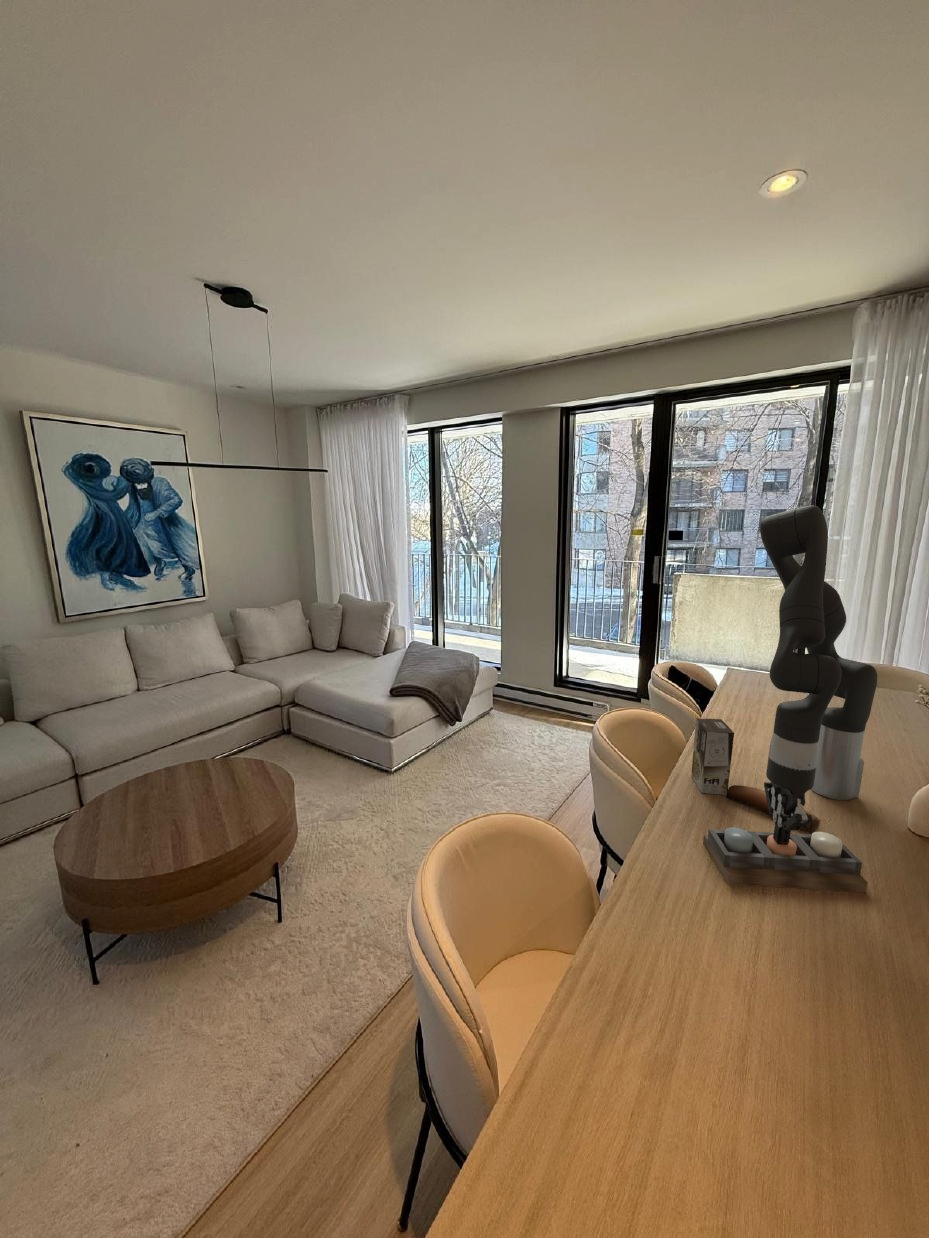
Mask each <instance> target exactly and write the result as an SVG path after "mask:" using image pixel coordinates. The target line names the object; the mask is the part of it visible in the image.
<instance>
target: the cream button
mask: <svg viewBox="0 0 929 1238" xmlns="http://www.w3.org/2000/svg"><path fill="white" fill-rule="evenodd" d="M811 833H812V834H811V835H812V836H811V843H810V848H811V849H812V850H813V851H814V853H815V854H816V855H817V856H818V857H831V858H840V857H841V851H842V845H843V844H844V843H843V842H842V840H841V839H840V838H838V836H836V835H833V834H830V833H829V832H824V831H814V832H811ZM835 836H836V837H835Z"/></svg>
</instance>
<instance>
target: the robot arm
mask: <svg viewBox="0 0 929 1238" xmlns="http://www.w3.org/2000/svg"><path fill="white" fill-rule="evenodd" d="M828 531H829V529H828V525H827V520H826V517H825V514H824V513H823V510H822V509H821V508H820V507H819V506H818V505H811V504H810V505H806V506H802V507H797V508H793V509H790V510H786V511H782V512H779V513H775V514H771V515H768V516H766V517H764V518H763V519H762V520H761V521H760V525H759V533H760V534H759V535H760V538H761V542H762V544H763V547H764V549H765V551H766V554H767V555H768V558H769V559H770V561H771V564H772V566H773V567H774V569H775V571H776V574H777V575H778V578H779V579H780V583H781V584H782V586H783V589H784V592H783V594H782V596H781V598H780V600H779V601H780V602H779V609H778V611H779V612H778V613H779V614H778V615H779V616H778V617H779V636H778V643H777V647H776V648H777V649H776V650H775V654H774V656H773V659H772V662H771V665H770V668H769V679H770V681H771V683H772V684H773V686H774V687H775V688H776V689H777V690H779V691H784V692H792V693H801V694H808V695H807V696H805V697H804V698H802V699H798V700H797V699H796V700H790V701H789V700H788V701H783V702H781V703H779V704H778V705H777V706H776V709H775V714H774V715H775V718H774V724H773V731H772V736H771V739H770V744H769V749H768V750H769V751H768V756H767V766H766V771H765V774H766V778H767V779H768V780H769V781H765V782H764V783H763V787H764V791H765V793H766V798H767V803H768V808H769V813H770V814H769V813H768V814H769V815H771V814H773V815H772V821H773V822H774V829H773V833H774V834H773V839H774V840H775V841H776V843H777V844H781V845H788V844H789V839H790V833H791V831H797V832H800V831H801V830H802V829H803V827H805V826H806V825H807V824H809V823H810V822H811V821H812V816H811V815H810V814H806V813H805V809H804V808H805V807H804V806H805V805H806V793H807V792H809V791H810V790H811V791H812V792H814V793H816V794H818V795H820V796H822V797H825V798H829V799H831V800H837V801H850V800H851V801H852V799H854V798H856V799H857V798H858V799H859V797H860V792H861V785H862V778H863V774H864V766H865V761H864V759H862V758H861V757H862V750H863V745H864V739H865V731H866V727H867V723H868V721H869V719H870V715H871V711H872V707H873V702H874V698H875V694H876V690H877V685H878V673H877V670H876V668H875V667H874V666H873V665H871V664H868V663H865V662H862V661H861V662H860V661H857V660H852V659H849V658H843V657H841V656H840V655H839V654H838V653H837V650H836V647H835V643H836V640H837V639H838V637H840V635H841V634H842V632H843V630H844V629H845V627H846V624H847V614H846V610H845V607H844V605H843V602H842V598H841V596H840V594H839V593H838V591H837V589H836V588H835V587H833V586H832V585H831V584H829V583H828V582H827V581H825V578H826V577H825V576H826V571H827V559H828V558H827V557H828V546H829V545H828V543H829V532H828ZM802 554H805V557H804V560H803V562H802V564H799V563H798V561H797V560H796V559H795V558H794V556H797V555H802ZM799 649H800V650H801V649H806V650H807V653H801V652H795V651H796V650H799ZM833 697H837V698H840V699H844V701H843V702H844V703H843V705H842V707H839V706H837V707H836V706H835V707H833V706H832V707H830V706H829V704H830V703H831V701H832V699H833ZM791 834H792V833H791Z"/></svg>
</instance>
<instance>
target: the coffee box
mask: <svg viewBox="0 0 929 1238" xmlns="http://www.w3.org/2000/svg"><path fill="white" fill-rule="evenodd" d="M694 726H695V729H694V737H693V738H694V739H693V752H692V764H691V773H690V775H691V777H692V780H693V781H694V783H695V784H696V786H697V788H698V789H699V791H700V792H701V793H702V794H710V795H711V794H714V795H722V796H723V795H725V796H726V794H727V790H728V789H729V783H730V774H731V766H732V755H733V750H734V749H733V747H734V738H735V734H736V733H735V732H734V731H733V730H732V729H731V728H730V727H729V725H728V724H727V723H725V721H723V719H721V718H698V717H697V718H695V725H694Z"/></svg>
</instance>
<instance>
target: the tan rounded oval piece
mask: <svg viewBox="0 0 929 1238" xmlns="http://www.w3.org/2000/svg"><path fill="white" fill-rule="evenodd" d="M767 847H768V849H769V850H770V851H771V852H772V854H775V855H794V856H796V849H797V845H796V844H795V842H793V841H792V840H791V839H789V844H788V845H781V844H777V843H776V841H775V840H774V839H773V835H770V836H768V838H767Z"/></svg>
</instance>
